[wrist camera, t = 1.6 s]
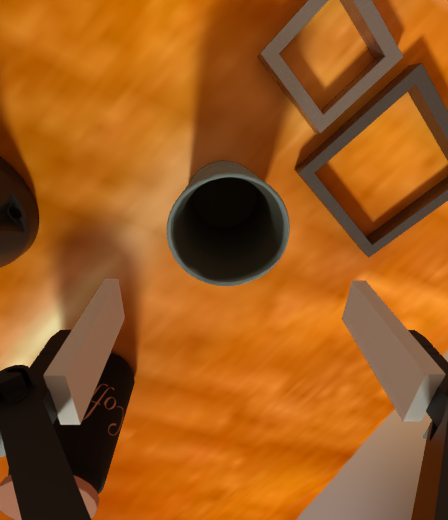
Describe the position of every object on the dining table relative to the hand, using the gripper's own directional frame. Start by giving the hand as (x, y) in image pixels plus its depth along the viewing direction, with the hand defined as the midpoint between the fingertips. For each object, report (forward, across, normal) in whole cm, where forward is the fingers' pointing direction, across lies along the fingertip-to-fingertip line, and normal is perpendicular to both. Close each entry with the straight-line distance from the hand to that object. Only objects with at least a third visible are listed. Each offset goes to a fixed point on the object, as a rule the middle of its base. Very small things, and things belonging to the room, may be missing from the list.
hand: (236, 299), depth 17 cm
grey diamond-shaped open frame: (+21, +9, +14) cm, 27 cm away
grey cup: (+21, 0, 0) cm, 21 cm away
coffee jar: (+21, -19, -29) cm, 40 cm away
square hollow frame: (+20, +18, +4) cm, 28 cm away
